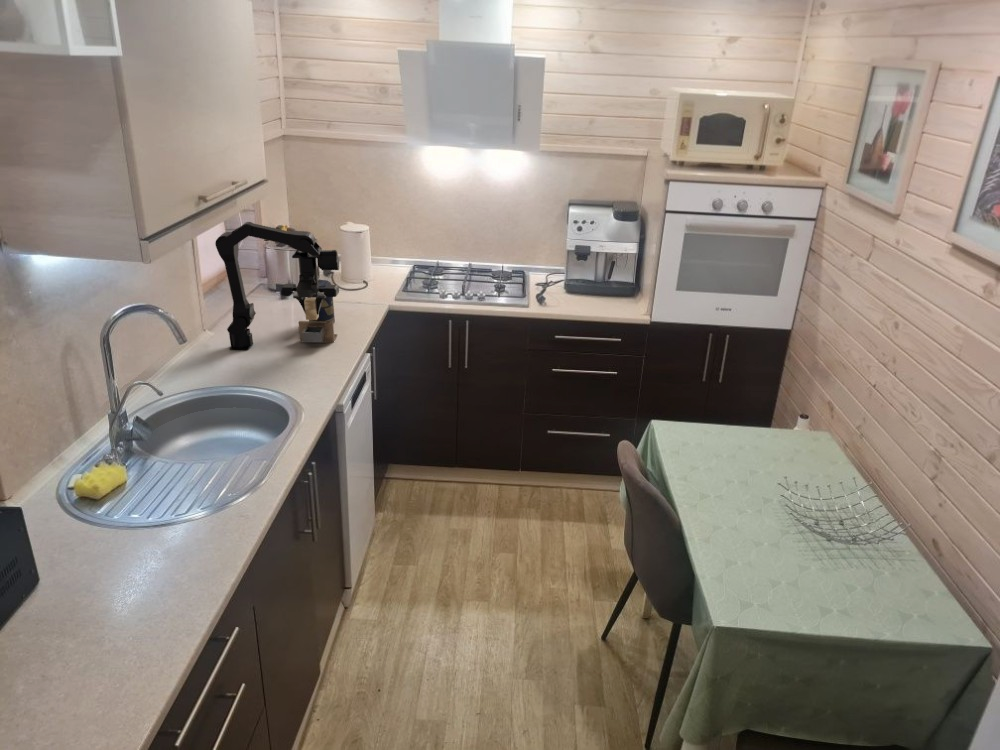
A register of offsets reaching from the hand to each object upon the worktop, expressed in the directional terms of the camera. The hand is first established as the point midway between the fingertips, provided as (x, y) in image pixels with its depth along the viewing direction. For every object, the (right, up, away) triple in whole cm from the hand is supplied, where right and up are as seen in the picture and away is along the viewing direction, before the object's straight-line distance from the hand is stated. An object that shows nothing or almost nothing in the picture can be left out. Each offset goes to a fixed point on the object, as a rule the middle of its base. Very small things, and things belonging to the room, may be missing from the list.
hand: (312, 314), depth 243 cm
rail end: (0, -1, +1) cm, 2 cm away
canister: (-2, -3, +23) cm, 24 cm away
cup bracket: (0, -9, +8) cm, 12 cm away
